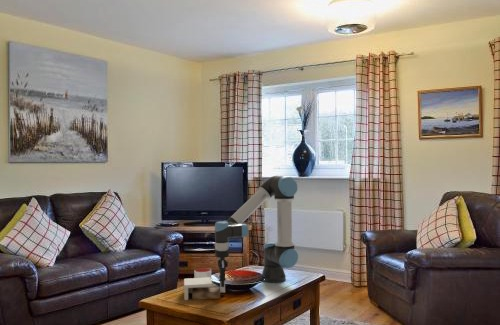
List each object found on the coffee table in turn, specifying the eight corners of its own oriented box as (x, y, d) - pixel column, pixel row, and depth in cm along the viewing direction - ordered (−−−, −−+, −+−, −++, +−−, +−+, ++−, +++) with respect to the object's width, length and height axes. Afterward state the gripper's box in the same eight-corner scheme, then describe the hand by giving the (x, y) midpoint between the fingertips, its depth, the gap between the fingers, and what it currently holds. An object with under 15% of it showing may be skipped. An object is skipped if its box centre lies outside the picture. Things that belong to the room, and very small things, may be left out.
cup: (210, 289, 268) (210, 272, 268) (193, 289, 269) (193, 272, 269) (212, 284, 278) (212, 268, 278) (195, 284, 279) (195, 268, 279)
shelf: (210, 291, 264) (210, 277, 264) (212, 298, 250) (212, 283, 250) (184, 292, 262) (184, 278, 262) (184, 300, 248) (184, 285, 248)
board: (219, 294, 260) (219, 287, 260) (220, 298, 251) (220, 291, 251) (192, 295, 258) (192, 288, 258) (192, 300, 249) (192, 292, 249)
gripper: (214, 247, 263) (214, 289, 263) (216, 252, 250) (216, 295, 250) (227, 247, 264) (228, 288, 264) (229, 251, 251) (230, 295, 251)
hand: (222, 292), depth 257 cm, fingers closed
